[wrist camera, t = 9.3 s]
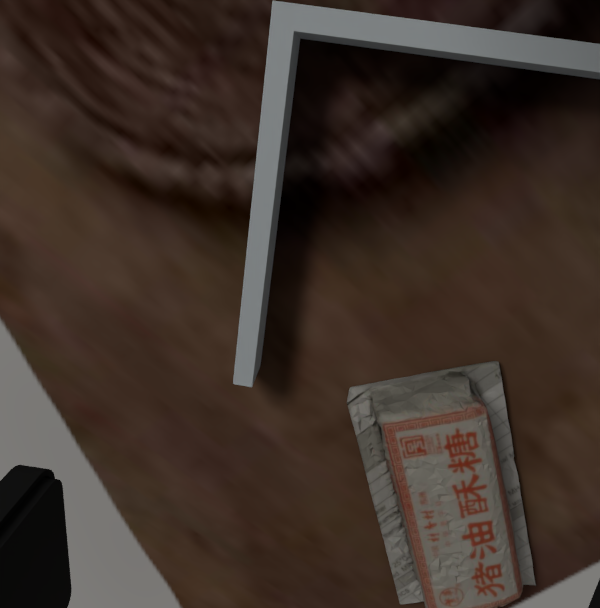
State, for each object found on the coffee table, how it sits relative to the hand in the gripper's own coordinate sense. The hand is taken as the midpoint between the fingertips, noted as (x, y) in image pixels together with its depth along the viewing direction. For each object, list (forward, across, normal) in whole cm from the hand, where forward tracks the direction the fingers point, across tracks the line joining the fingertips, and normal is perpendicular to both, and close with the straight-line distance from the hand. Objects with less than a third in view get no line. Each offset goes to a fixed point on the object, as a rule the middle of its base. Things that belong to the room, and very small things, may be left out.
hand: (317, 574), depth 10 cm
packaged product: (+26, -9, +17) cm, 32 cm away
